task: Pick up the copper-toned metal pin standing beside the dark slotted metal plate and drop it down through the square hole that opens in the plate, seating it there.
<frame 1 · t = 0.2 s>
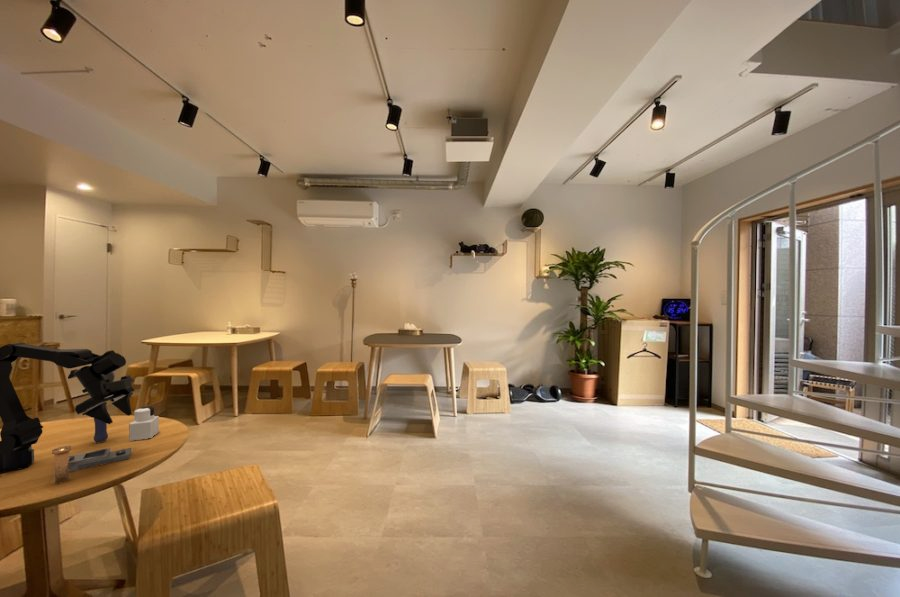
hand: (120, 418, 119), 15 cm above the table, tool tilted 30°, fingers open, 9 cm apart
rubber mallet: (100, 442, 134), on the table
pin: (61, 480, 106), on the table
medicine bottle: (144, 437, 139), on the table
slotted metal plate: (94, 462, 118), on the table
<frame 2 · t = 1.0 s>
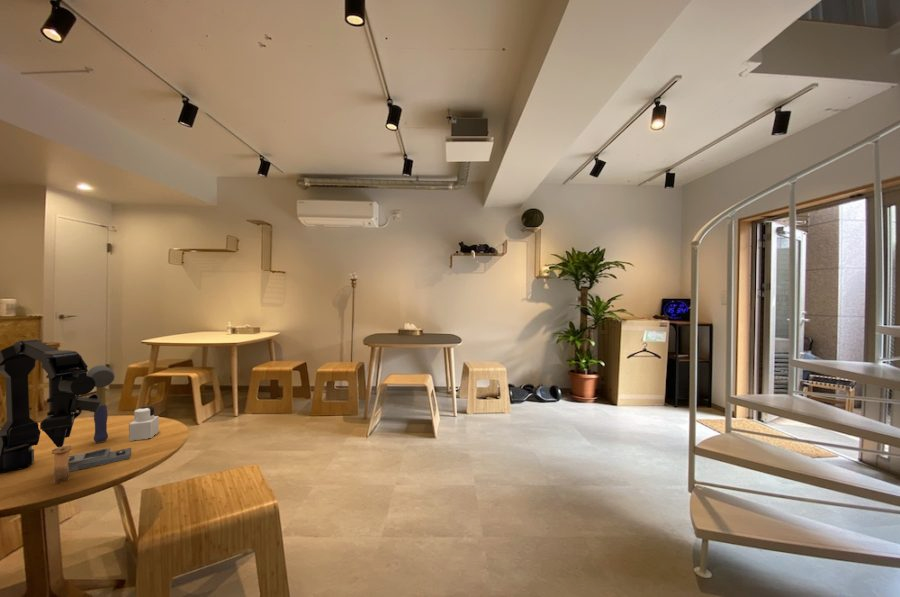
hand: (63, 441, 106), 12 cm above the table, tool pointing down, fingers open, 9 cm apart
nothing on the table moved.
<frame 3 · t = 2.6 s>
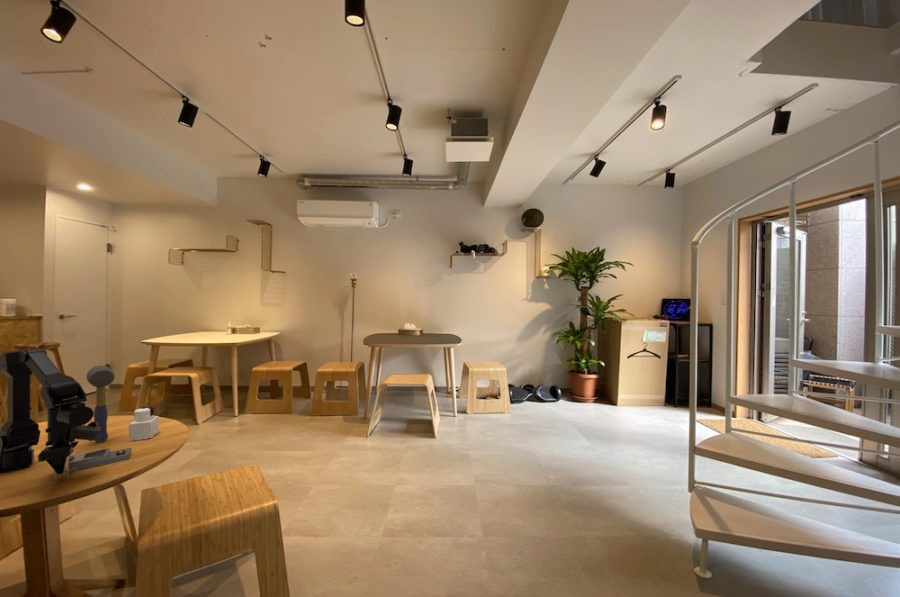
hand: (61, 471, 106), 3 cm above the table, tool pointing down, fingers closed on pin, 3 cm apart
pin: (61, 480, 106), on the table, touching gripper
everything else where it was.
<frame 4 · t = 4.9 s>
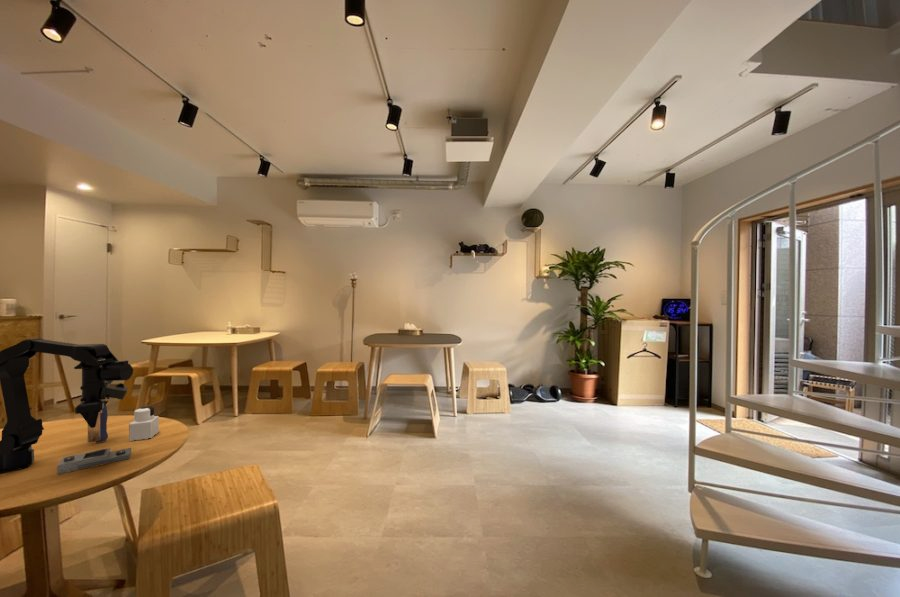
hand: (94, 425, 117), 13 cm above the table, tool pointing down, fingers closed on pin, 3 cm apart
pin: (94, 440, 117), point 8 cm above the table, touching gripper
everything else where it was.
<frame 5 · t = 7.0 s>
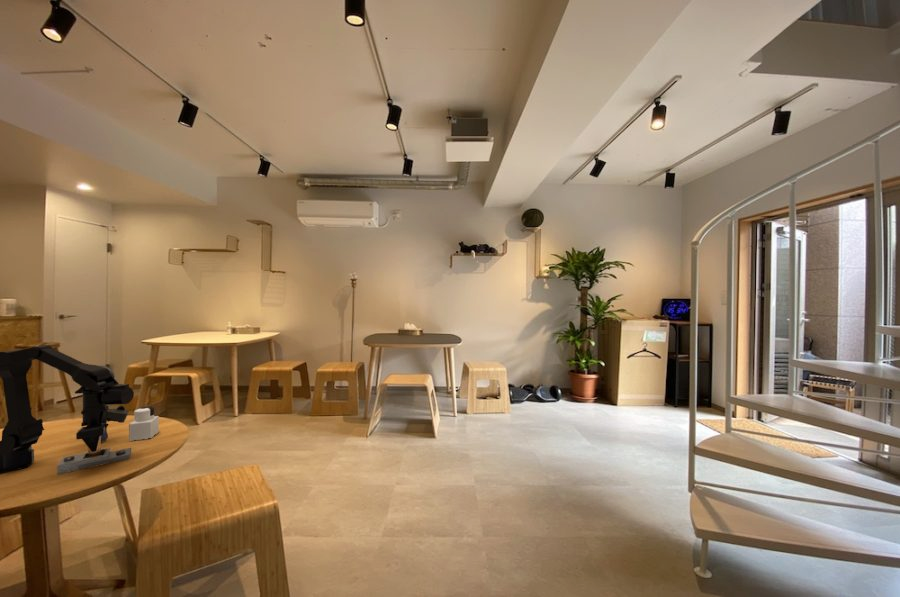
hand: (94, 449, 118), 5 cm above the table, tool pointing down, fingers closed on pin, 3 cm apart
pin: (94, 462, 118), resting in slotted metal plate, touching gripper
everything else where it was.
when the fingers open (5 cm above the table, at t = 7.2 s): pin stays where it is, resting in slotted metal plate.
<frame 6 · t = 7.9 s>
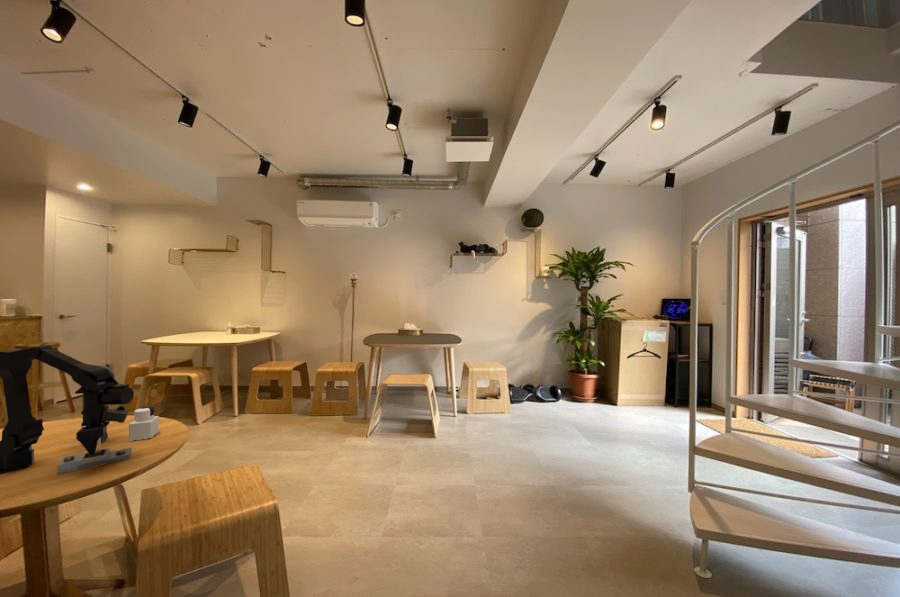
hand: (94, 449, 118), 5 cm above the table, tool pointing down, fingers open, 9 cm apart
pin: (94, 462, 118), resting in slotted metal plate
everything else where it was.
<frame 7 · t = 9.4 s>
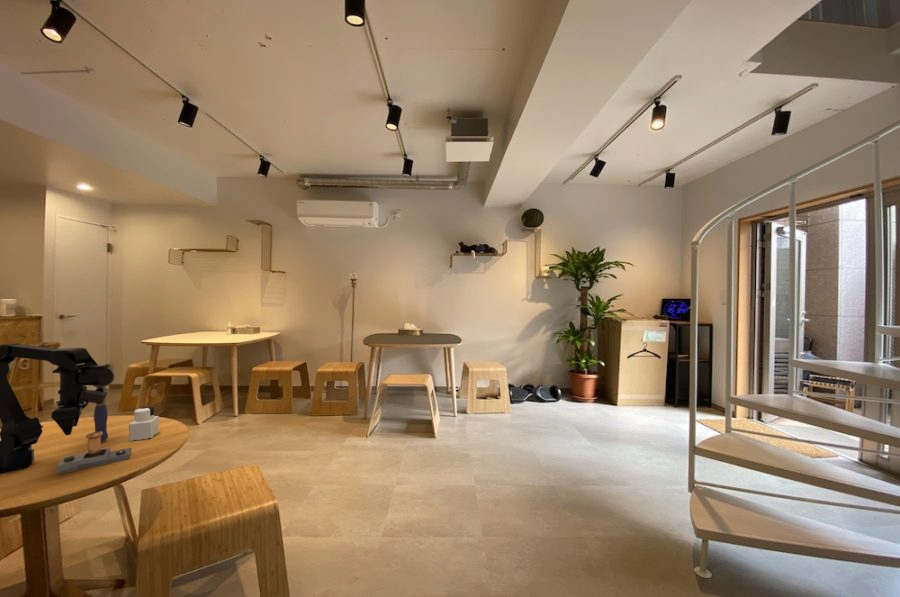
hand: (71, 430, 116), 12 cm above the table, tool pointing down, fingers open, 9 cm apart
nothing on the table moved.
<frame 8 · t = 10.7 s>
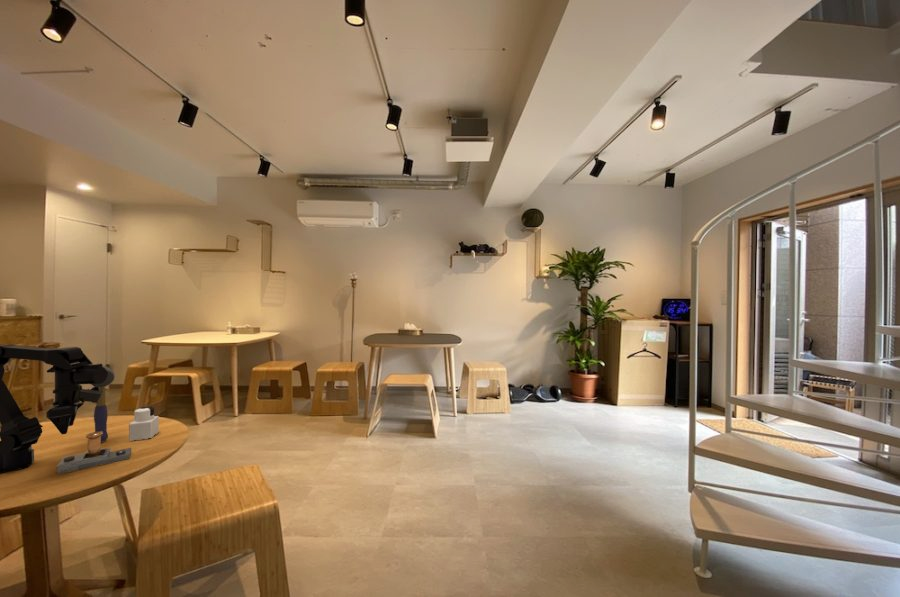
hand: (67, 429, 116), 12 cm above the table, tool pointing down, fingers open, 9 cm apart
nothing on the table moved.
at the end: pin 0.1 cm off-centre on the slotted metal plate, point 0.0 cm above the slotted metal plate's base; pin tilted 0°; the gripper is holding nothing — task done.
